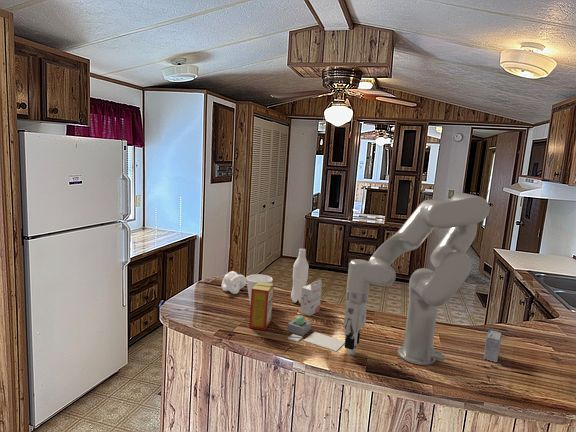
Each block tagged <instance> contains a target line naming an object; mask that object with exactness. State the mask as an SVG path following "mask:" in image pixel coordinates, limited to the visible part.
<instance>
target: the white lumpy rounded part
mask: <svg viewBox="0 0 576 432" xmlns="http://www.w3.org/2000/svg"><path fill="white" fill-rule="evenodd" d="M246 285H247V280H246V276H245V275H243V274H238V272H236V271H234V270H232V271H229V272H228V273H226V274H225V275H224V276H223V279H222V281H221V289H222V291H224V292H230V293H231V294H233V295H236V294H237V295H238V293H239V292H240V290H241V289H243V288H244V287H245V286H246Z"/></svg>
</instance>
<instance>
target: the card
mask: <svg viewBox="0 0 576 432" xmlns="http://www.w3.org/2000/svg"><path fill="white" fill-rule="evenodd" d="M302 339H303V336H301V335H298V334H295V333H292V334H291V335H289V336H288V337H287V340H291V341H294V342H297V343H298V342H299V341H300V340H302Z"/></svg>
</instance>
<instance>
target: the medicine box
mask: <svg viewBox="0 0 576 432" xmlns="http://www.w3.org/2000/svg"><path fill="white" fill-rule="evenodd" d="M502 337H503V334H502V333H501V332H498V331H496V330H492V329H491V330H488V333H487V335H486V339H485V346H484V352H483V360H485V359H487V360H486V361H488V360H490V361H489V362H491V361H494V362H493V363H495V362H497V363H498V360H499V356H498V355H500V348H501V343H502V342H501V340H502Z"/></svg>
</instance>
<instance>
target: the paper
mask: <svg viewBox="0 0 576 432" xmlns="http://www.w3.org/2000/svg"><path fill="white" fill-rule="evenodd" d="M303 342H305V343H308V344H310V345H311V344H312V345H315V346H317V347H320V348H321V347H322V348H325V349H326V350H330V351H333V352H338V351H339V350H340V348H342V347H343V346H344V345H345V340H342V339H339V338H336V337H332V336H329V335H326V334H322V333H319V332H316V331H314V332H312V333H311V334H310V335H308V336H307V337H306V338H305V339H303Z"/></svg>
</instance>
